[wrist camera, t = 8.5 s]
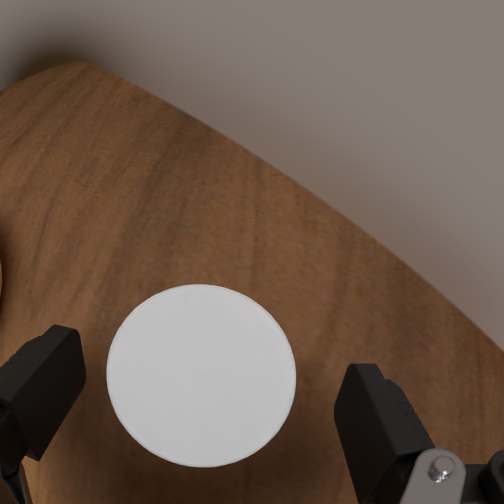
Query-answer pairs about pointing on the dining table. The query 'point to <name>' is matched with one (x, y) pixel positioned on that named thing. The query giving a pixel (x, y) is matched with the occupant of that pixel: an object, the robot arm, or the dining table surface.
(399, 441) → the robot arm
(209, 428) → the pill bottle
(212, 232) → the dining table surface
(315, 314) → the dining table surface
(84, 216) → the dining table surface
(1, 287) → the hamburger
